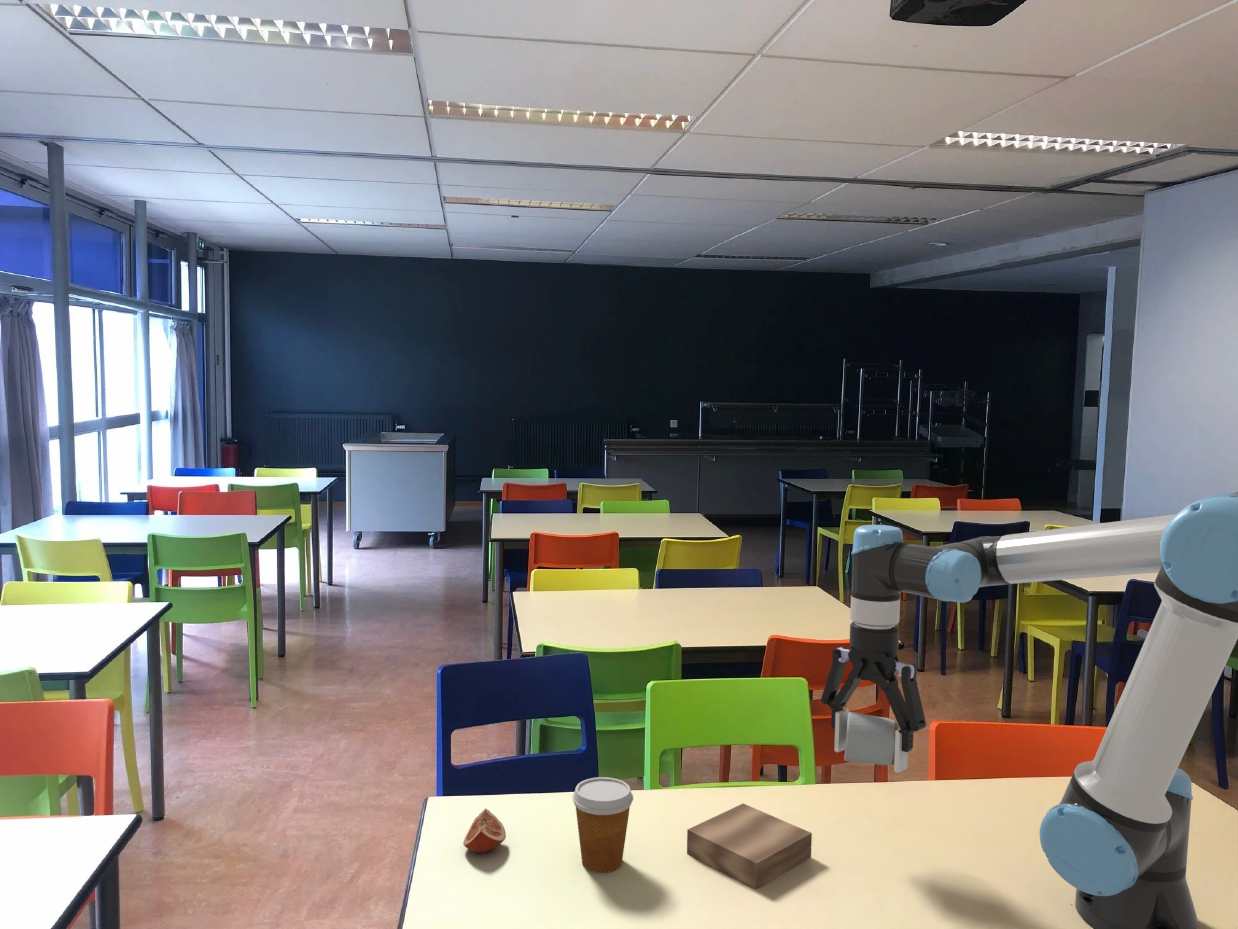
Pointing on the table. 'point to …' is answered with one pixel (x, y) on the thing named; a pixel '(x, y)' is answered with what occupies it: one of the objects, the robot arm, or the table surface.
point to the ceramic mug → (870, 739)
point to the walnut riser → (749, 845)
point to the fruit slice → (485, 833)
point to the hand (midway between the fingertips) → (870, 759)
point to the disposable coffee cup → (602, 821)
